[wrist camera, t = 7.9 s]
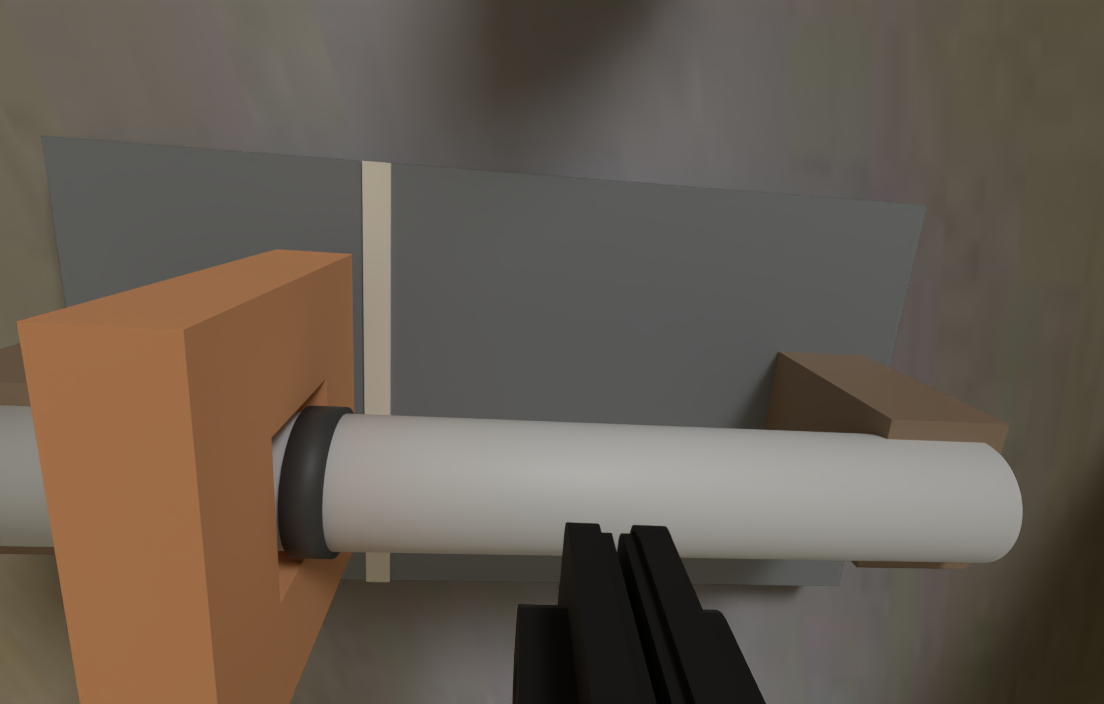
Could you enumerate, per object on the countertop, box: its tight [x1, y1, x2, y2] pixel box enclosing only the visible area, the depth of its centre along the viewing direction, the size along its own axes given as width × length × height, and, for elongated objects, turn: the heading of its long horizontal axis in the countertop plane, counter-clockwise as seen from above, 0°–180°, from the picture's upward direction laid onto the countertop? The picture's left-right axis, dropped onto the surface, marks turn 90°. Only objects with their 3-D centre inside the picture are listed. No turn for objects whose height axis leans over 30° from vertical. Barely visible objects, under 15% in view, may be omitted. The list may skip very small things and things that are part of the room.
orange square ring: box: [17, 249, 354, 704], centre depth 13 cm, size 2×9×9 cm, turn 176°
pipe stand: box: [0, 136, 1022, 586], centre depth 16 cm, size 26×14×9 cm, turn 86°
